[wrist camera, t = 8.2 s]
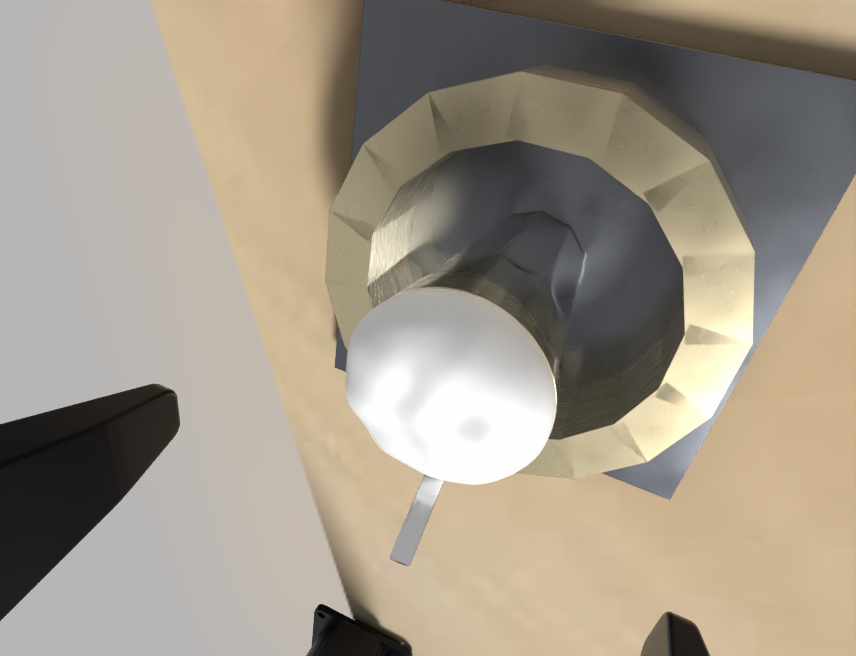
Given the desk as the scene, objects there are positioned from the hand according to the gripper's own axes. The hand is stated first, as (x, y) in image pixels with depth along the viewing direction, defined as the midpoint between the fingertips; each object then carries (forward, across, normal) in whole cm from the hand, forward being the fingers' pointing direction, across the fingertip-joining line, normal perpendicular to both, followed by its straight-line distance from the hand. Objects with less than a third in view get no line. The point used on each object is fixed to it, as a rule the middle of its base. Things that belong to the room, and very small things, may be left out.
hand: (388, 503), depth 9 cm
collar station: (+12, 0, 0) cm, 12 cm away
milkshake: (+11, 0, 0) cm, 11 cm away
